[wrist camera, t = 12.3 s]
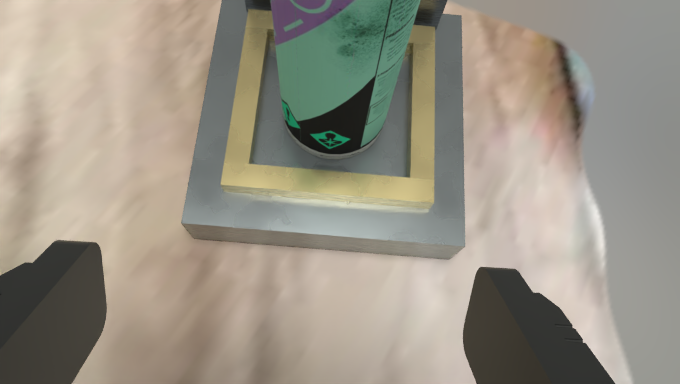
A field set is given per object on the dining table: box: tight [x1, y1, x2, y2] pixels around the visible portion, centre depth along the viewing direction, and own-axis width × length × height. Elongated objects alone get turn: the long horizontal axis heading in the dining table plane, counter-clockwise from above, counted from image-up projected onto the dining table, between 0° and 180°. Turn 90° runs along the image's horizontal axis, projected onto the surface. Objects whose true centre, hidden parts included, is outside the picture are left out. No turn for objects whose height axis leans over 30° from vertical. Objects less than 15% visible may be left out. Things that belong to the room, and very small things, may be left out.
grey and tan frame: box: [181, 0, 465, 259], centre depth 26 cm, size 14×14×9 cm
